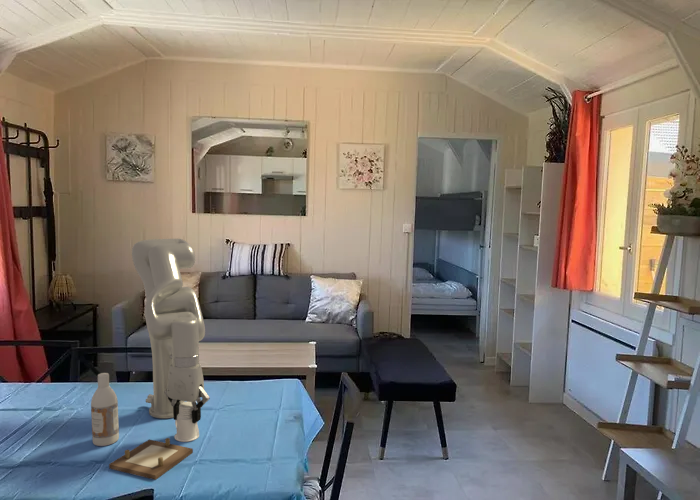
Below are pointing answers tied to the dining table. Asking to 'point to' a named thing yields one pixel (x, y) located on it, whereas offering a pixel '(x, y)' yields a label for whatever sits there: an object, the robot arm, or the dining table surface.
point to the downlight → (186, 424)
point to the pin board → (151, 459)
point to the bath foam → (104, 413)
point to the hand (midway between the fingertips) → (187, 419)
